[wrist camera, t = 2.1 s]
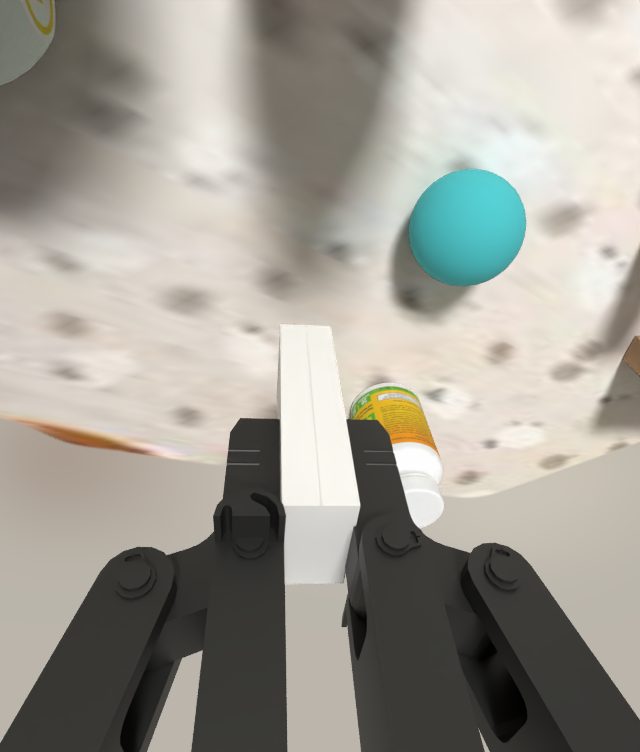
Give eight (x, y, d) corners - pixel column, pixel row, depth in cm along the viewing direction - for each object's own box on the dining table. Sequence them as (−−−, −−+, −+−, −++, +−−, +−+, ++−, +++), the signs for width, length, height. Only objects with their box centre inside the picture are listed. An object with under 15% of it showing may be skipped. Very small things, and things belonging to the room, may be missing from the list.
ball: (390, 256, 30) (412, 303, 25) (410, 151, 26) (439, 184, 22) (483, 261, 31) (521, 308, 26) (515, 160, 27) (566, 193, 22)
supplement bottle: (358, 376, 36) (381, 479, 28) (427, 383, 36) (468, 485, 29) (343, 430, 39) (360, 536, 31) (407, 435, 40) (439, 539, 32)
